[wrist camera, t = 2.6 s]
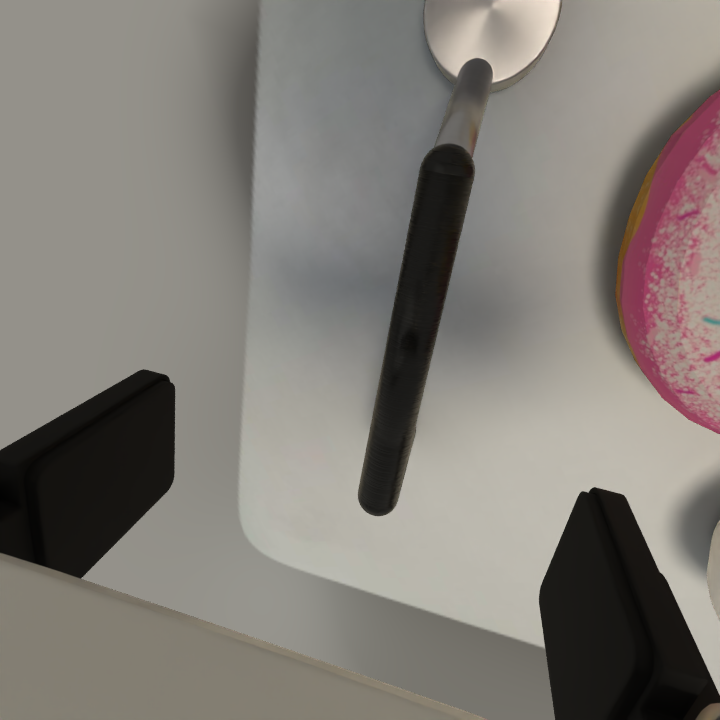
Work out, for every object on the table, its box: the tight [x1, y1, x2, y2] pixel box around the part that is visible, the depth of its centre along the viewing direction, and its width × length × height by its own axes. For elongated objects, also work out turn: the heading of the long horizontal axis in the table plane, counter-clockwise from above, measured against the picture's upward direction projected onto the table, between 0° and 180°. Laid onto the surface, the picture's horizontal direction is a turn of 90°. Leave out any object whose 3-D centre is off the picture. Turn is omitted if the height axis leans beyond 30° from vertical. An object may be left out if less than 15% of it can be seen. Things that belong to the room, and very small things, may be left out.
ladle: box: [358, 0, 562, 516], centre depth 18 cm, size 20×4×7 cm, turn 171°
